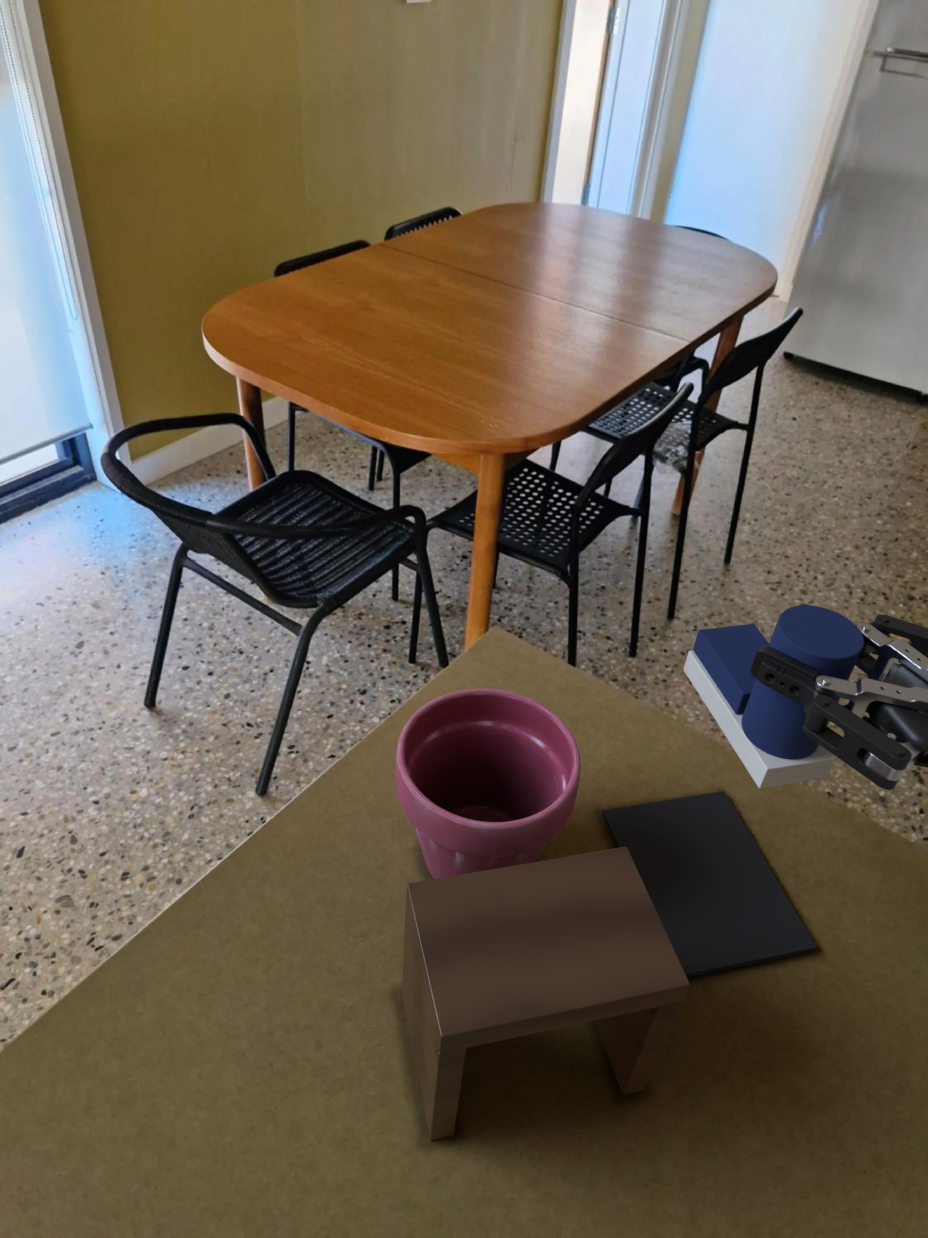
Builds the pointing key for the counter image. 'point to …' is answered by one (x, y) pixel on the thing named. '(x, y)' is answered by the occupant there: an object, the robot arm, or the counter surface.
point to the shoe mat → (708, 883)
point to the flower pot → (485, 779)
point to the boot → (760, 714)
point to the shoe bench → (535, 967)
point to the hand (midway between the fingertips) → (775, 637)
